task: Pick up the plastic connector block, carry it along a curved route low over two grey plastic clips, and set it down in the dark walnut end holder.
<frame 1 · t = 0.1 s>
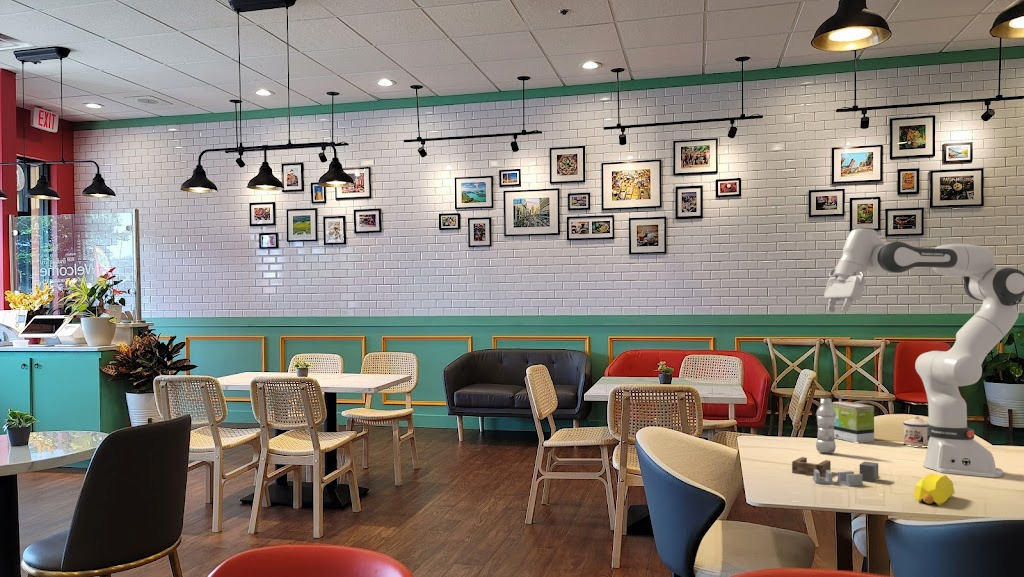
hand: (836, 312, 245), 52 cm above the table, tool tilted 20°, fingers open, 8 cm apart
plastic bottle: (825, 453, 269), on the table
connector: (869, 480, 226), on the table
tea box: (850, 440, 299), on the table
holder: (811, 472, 236), on the table
teacup with lid: (920, 447, 285), on the table
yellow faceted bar: (934, 501, 203), on the table
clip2: (822, 481, 223), on the table
clip1: (850, 483, 221), on the table
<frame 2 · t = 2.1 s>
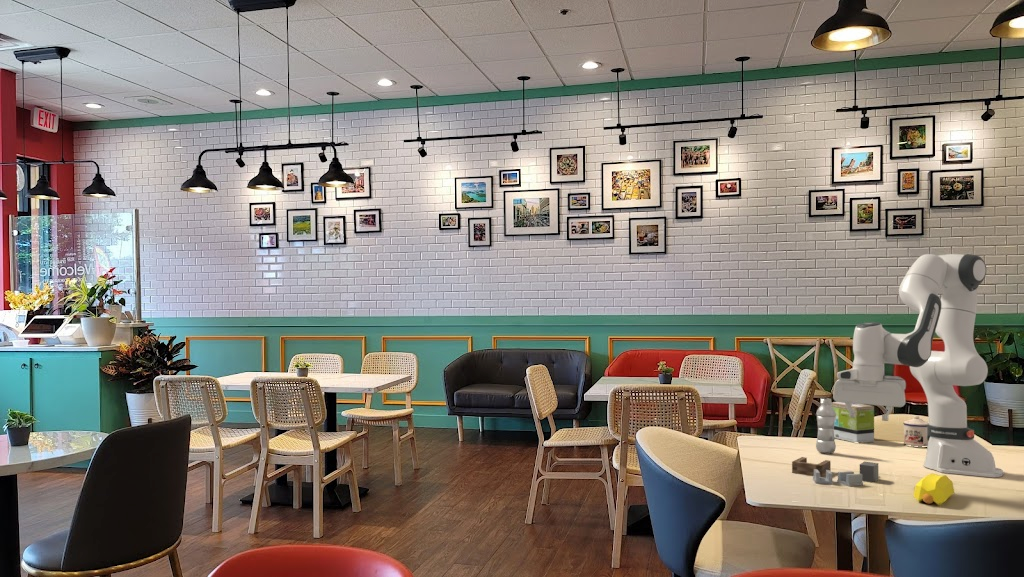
hand: (868, 419, 227), 19 cm above the table, tool pointing down, fingers open, 8 cm apart
nothing on the table moved.
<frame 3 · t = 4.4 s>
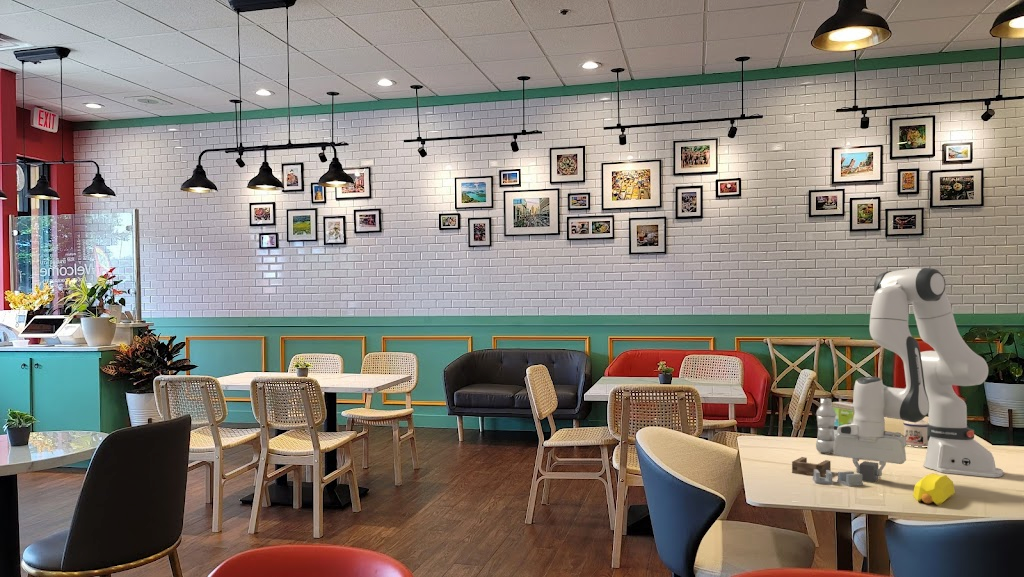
hand: (869, 474, 226), 2 cm above the table, tool pointing down, fingers closed on connector, 4 cm apart
connector: (869, 479, 226), on the table, touching gripper
everything else where it was.
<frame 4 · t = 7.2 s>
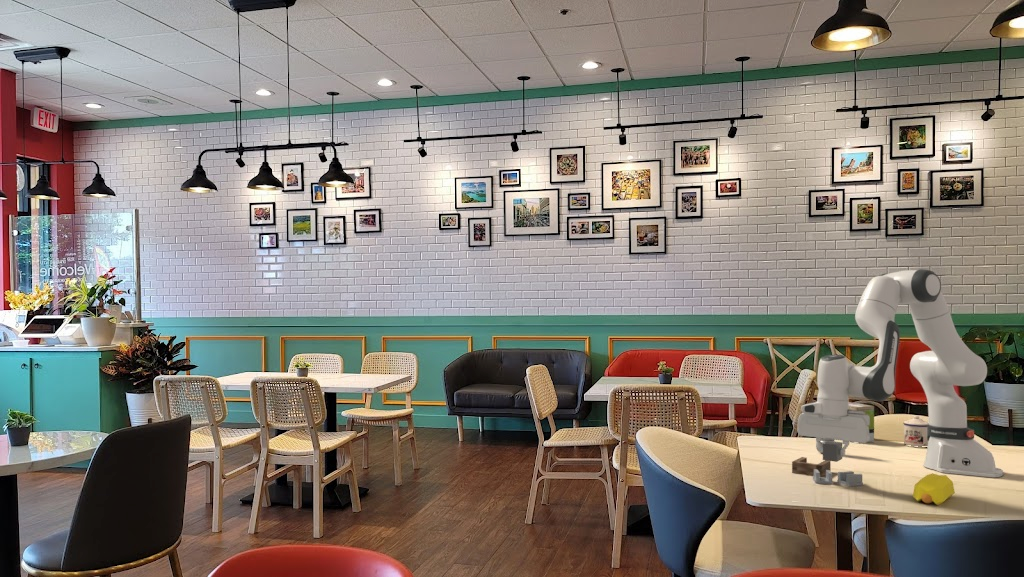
hand: (832, 454, 222), 9 cm above the table, tool pointing down, fingers closed on connector, 4 cm apart
connector: (832, 459, 222), point 7 cm above the table, touching gripper
everything else where it was.
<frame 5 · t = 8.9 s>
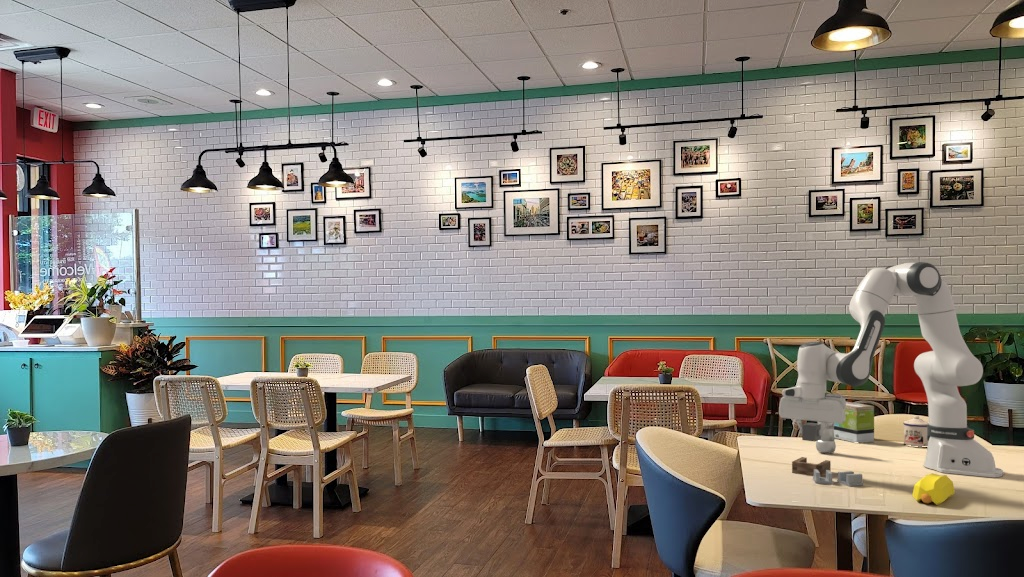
hand: (811, 434, 237), 12 cm above the table, tool pointing down, fingers closed on connector, 4 cm apart
connector: (811, 439, 237), point 10 cm above the table, touching gripper
everything else where it was.
when the fingers open (5 cm above the table, at t = 10.4 s): connector drops 2 cm, resting on holder.
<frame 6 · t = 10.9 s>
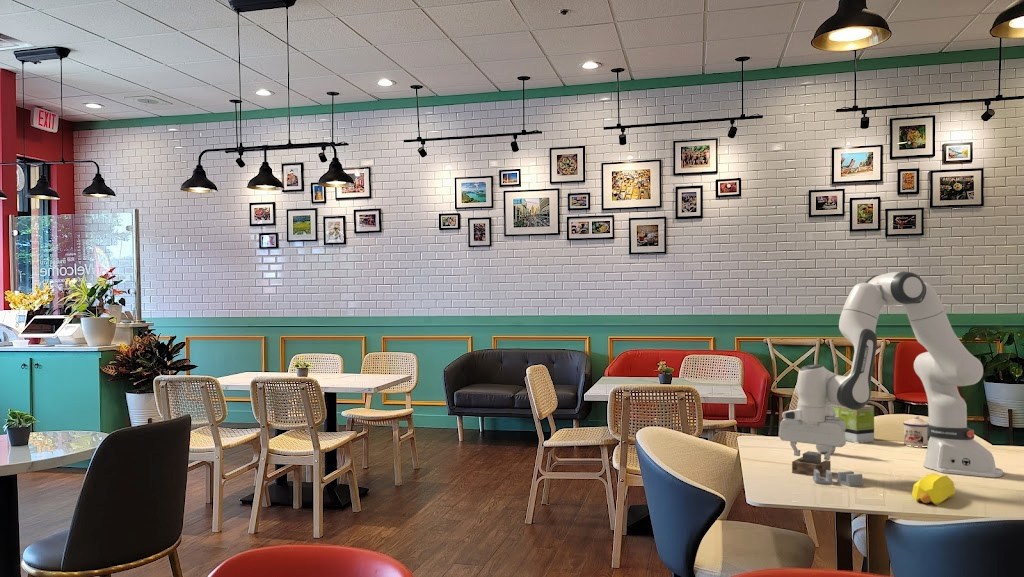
hand: (811, 457, 237), 5 cm above the table, tool pointing down, fingers open, 8 cm apart
connector: (811, 468, 237), point 1 cm above the table, touching holder
everything else where it was.
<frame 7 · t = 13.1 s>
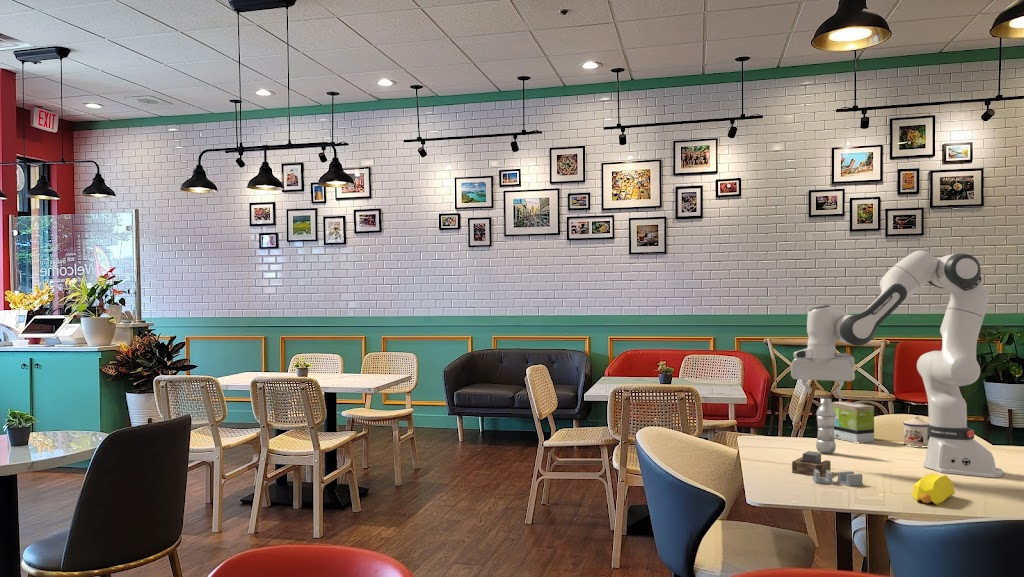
hand: (823, 393, 249), 24 cm above the table, tool pointing down, fingers open, 8 cm apart
nothing on the table moved.
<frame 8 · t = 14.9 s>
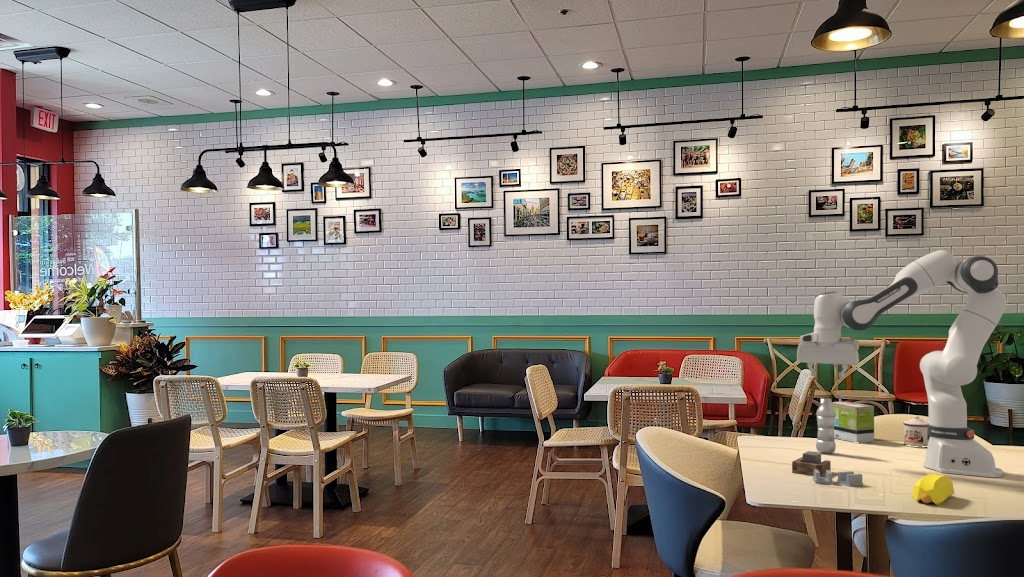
hand: (827, 376, 258), 29 cm above the table, tool pointing down, fingers open, 8 cm apart
nothing on the table moved.
at the end: connector 0.2 cm off-centre on the holder, point 1.0 cm above the holder's base; connector tilted 0°; the gripper is holding nothing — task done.
